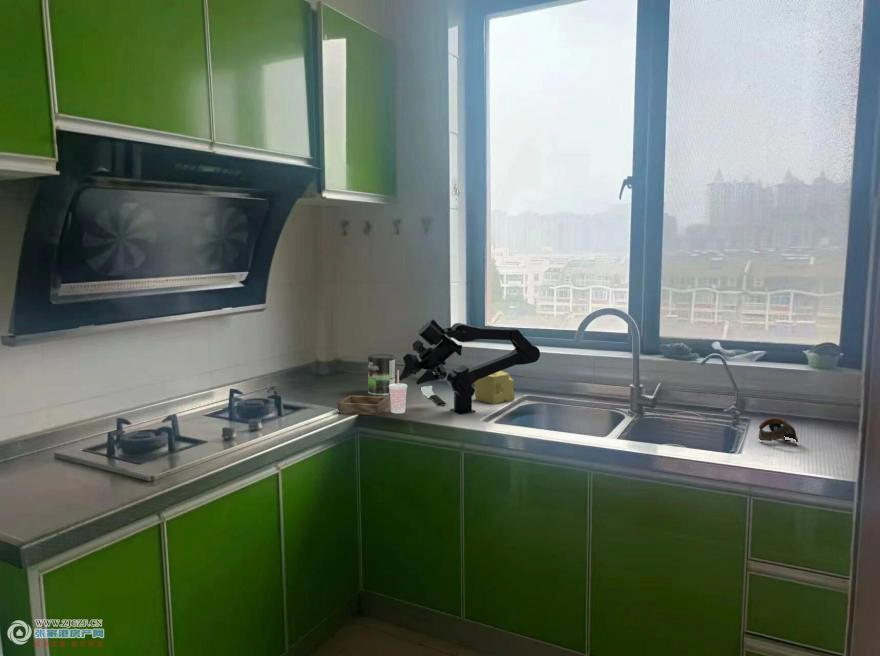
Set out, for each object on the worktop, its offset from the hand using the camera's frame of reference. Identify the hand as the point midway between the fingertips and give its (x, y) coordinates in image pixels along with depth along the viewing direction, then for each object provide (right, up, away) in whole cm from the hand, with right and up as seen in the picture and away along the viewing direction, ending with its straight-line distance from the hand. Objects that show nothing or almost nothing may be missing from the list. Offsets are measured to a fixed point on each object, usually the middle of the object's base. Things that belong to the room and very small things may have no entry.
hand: (408, 381), depth 215 cm
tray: (-15, -9, -1) cm, 18 cm away
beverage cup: (-3, -10, -3) cm, 11 cm away
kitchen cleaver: (+6, -8, +20) cm, 22 cm away
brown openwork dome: (+105, -14, -37) cm, 112 cm away
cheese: (+30, -8, +15) cm, 35 cm away
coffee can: (-11, -7, +26) cm, 30 cm away
